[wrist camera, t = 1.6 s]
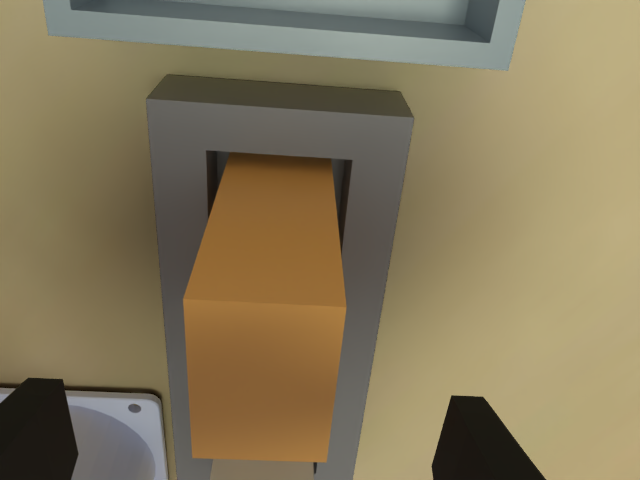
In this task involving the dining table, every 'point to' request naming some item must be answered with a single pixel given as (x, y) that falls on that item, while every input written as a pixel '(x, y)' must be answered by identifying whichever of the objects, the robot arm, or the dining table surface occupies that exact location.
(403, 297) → the dining table surface
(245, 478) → the fuse
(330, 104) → the block
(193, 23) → the parts tray
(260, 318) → the orange rectangular block
